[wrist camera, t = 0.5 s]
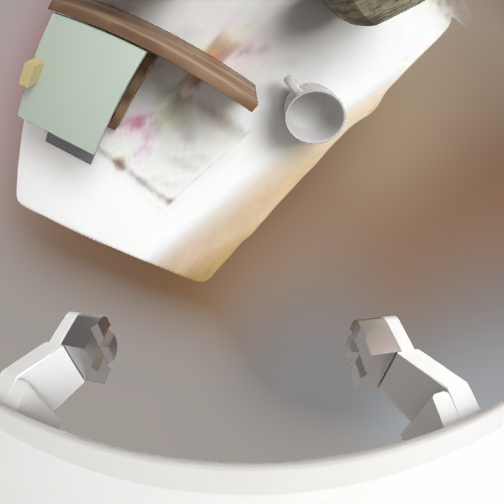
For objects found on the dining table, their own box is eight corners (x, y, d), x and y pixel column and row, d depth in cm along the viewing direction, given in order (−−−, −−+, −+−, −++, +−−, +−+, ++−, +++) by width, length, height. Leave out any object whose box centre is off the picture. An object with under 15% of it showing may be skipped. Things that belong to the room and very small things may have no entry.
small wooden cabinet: (89, -3, 28) (51, 0, 20) (255, 84, 47) (258, 105, 38) (47, 90, 41) (12, 113, 32) (190, 164, 60) (180, 200, 51)
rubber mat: (56, 105, 45) (55, 106, 44) (105, 129, 51) (104, 130, 51) (46, 140, 50) (45, 141, 50) (91, 163, 57) (90, 164, 56)
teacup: (340, 117, 52) (353, 133, 46) (292, 135, 55) (299, 153, 50) (316, 57, 42) (327, 65, 37) (263, 78, 46) (266, 88, 40)
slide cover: (56, 12, 22) (41, 15, 19) (148, 51, 31) (139, 55, 28) (20, 114, 34) (8, 123, 31) (95, 152, 43) (86, 163, 40)
